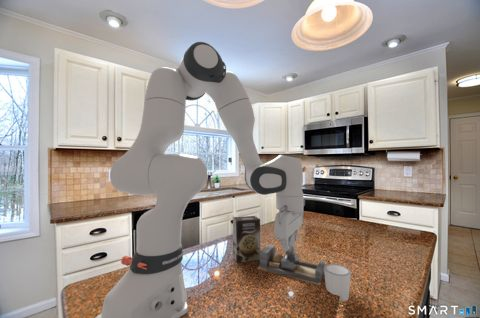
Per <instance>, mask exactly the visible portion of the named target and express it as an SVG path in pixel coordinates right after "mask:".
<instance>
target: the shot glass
mask: <svg viewBox="0 0 480 318" xmlns="http://www.w3.org/2000/svg"><path fill="white" fill-rule="evenodd" d="M351 275H352V272H351V270H350V269H349V268H348V267H346V266H344V265H342V264H335V263H330V264H325V266H324V281H325V283H324V284H325V289H326V291H327V292H329V294H330V293H331V295H335V296H338V297H339V299H338V302H346V301H348V300H349V297H350V287H351V278H352V277H351Z"/></svg>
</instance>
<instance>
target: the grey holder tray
mask: <svg viewBox="0 0 480 318" xmlns="http://www.w3.org/2000/svg"><path fill="white" fill-rule="evenodd" d="M274 254H276V245H274V244H269V243H268V244H267V245H266V246H265V247H264V248H262V250H260V260H259V266H257V268H256V269H257V270H259V271H265V272H268V273H271V274H275V275H280V276H283V277H287V278H291V279H295V280H299V281H301V282H302V281H303V282H307V283H310V284H314V285H317V286H320V285H321V283H322V280H323V278H324V276H325V274H324V266H326V261H324V260H319V262H318V263H313V262H307V261H303V260H299V266H298V268H297V269H296V271H295V273H294V272H290V271H286V270H282V269H281V266H280V263H276V262H272V257H273V255H274Z"/></svg>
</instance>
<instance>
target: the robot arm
mask: <svg viewBox="0 0 480 318" xmlns="http://www.w3.org/2000/svg"><path fill="white" fill-rule="evenodd" d="M205 94H207V95H208V96H209V97H210V98H211V99H212V100H213V103H214V105H215V108H216V110H217V112H218V116H219V117H220V120H221V121H222V123H223V126H224V127H225V129H226V131H227V133H229V135H230V136H231V138H232V140H233V141H234V143H235V146H236V148H237V150H238V152H239V155H240V158H241V159H242V163H243V166H244V182H245V184H246V186H247V188H249V190H251V191H254V192H255V193H256V194H259V195H264V196H267V195H271V194H275V205H276V206H275V207H276V210H278V212H277V213H276V214H275V217H274V227H273V229H274V233H273V235H274V238H275V239H276V240H280V243H281V249H282V250H281V251H283V252H286V251H288V250H289V244H288V238H289V237H290V236H291V235H292V234H293V233H295V242H296V241H297V240H298V234H299V228H300V227H301V226H302V225H303V222H304V207H305V205H306V200H305V199H304V192H303V183H304V172H303V171H304V170H303V164H302V161H301V159H300V158H299V157H298V156H296V155H290V154H278V156H276V157H275V158H274V159H272V160H269V161H267V162H265V163H263V162H262V160H261V158H260V156H259V153H258V150H257V148H256V145H255V141H254V134H253V133H254V125H255V121H256V120H255V114H254V108H253V105H252V103H251V100H250V98H249V96H248V94H247V91H246V89H245V87H244V86H243V84H242V82H241V81H240V79H239V77H238V76H237V75H236V74H235V73H234V72H232V71H227V65H226V63H225V62H224V61H223V59H222V56H221V54H220V53H219V51H217V50H216V48H215V47H213V45H211V44H209V43H207V42H205V41H196V42H194V43H192V44H191V45H190V46H189V47H188V48H187V49H186V50H185V52H184V54H183V57H182V59H181V61H180V63H179V65H178V67H177V68H171V67H165V66H164V67H158V68H156V69H154V70H153V71H152V72H151V74H150V78H149V79H148V83H147V86H146V91H145V96H144V103H143V111H142V117H141V125H140V129H139V132H138V134H137V136H136V138H135V140H134V142H133V144H132V145H131V146H130V148H129V149H128V150H127V151H126V152H125V153H124V154H123V155H121V156H120V157H118V158H117V159H116V160H115V161H114V162H113V163H112V165H111V169H110V171H109V180H110V183H111V185H112V187H113V188H114V190H116V191H117V192H121V193H124V194H129V195H132V196H156V201H155V206H154V207H153V208H151V209H149V210H147V211H145V212H144V213H143V214H141V216H140V217H139V219H138V220H137V223H136V249H135V250H134V254H133V256H132V257H131V256H128V255H123V256H122V257H121V259H120V264H121V265H122V266H123V265H124V266H127V267H128V266H129V268H128V270H127V271H126V272H125V273H124V275H123V276H122V277H121V278H120V279H119V280H118V282H117V283H116V284H115V285H114V286H113V287H112V288H111V289H110V290H109V291H108V292H107V294H106V295H105V298H104V300H103V304H102V308H101V313H100V314H98V315H97V316H95V318H181V317H182V316H184V315H185V314H187V313H188V310H189V309H188V307H189V306H188V304H187V301H188V294H187V289H186V287H185V279H184V272H183V265H182V261H183V259H184V256H183V255H184V250H183V244H182V225H183V224H182V223H183V217H184V214H185V213H184V212H185V210H186V208H187V207H188V204H189V203H190V202H191V201H192V199H193V198H194V197H195V196H196V195H197V194H199V193H200V192H201V191H202V190H203V189H204V188H205V186H206V184H207V180H208V169H207V166H206V164H205V162H204V161H203V159H202V158H201V157H199V156H194V155H190V154H185V153H168V154H167V153H166V150H167V149H168V148H169V147H170V146H171V145H173V144H174V143H175V142H177V141H179V140H180V139H181V138H182V136H183V134H184V131H185V121H186V118H185V117H186V106H187V105H186V102H187V101H196V100H199V99H201V98H202V97H203V96H204V95H205Z"/></svg>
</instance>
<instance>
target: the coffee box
mask: <svg viewBox="0 0 480 318" xmlns="http://www.w3.org/2000/svg"><path fill="white" fill-rule="evenodd" d="M260 251H261V218H259V217H257V216H255V215H245V216H233V217H232V257H233V260H234V261H235V263H246V262H252V261H260Z"/></svg>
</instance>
